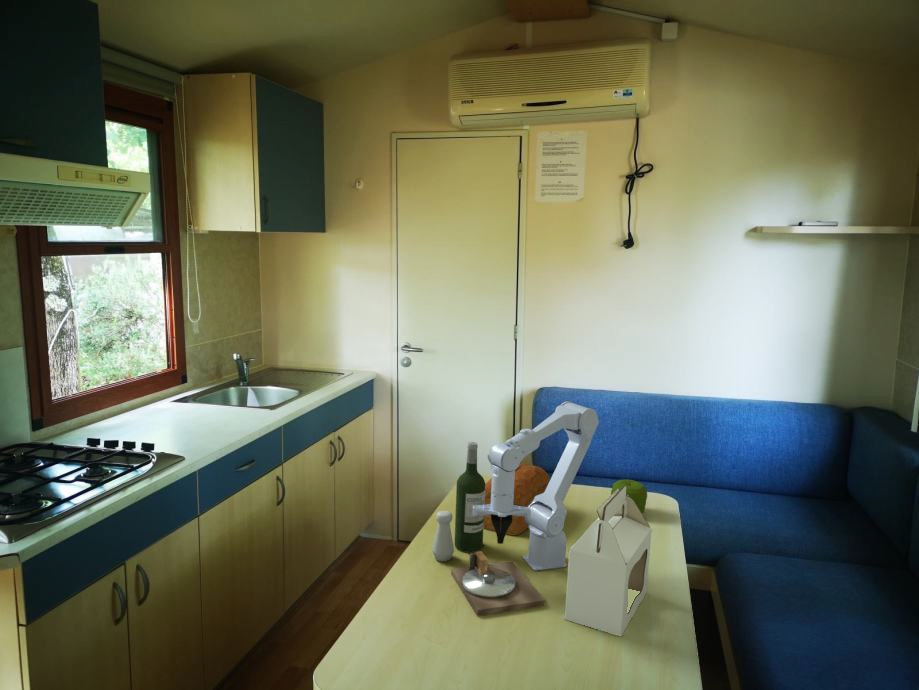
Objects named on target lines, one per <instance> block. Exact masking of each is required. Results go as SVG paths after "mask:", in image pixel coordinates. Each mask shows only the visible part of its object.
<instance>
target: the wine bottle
mask: <svg viewBox="0 0 919 690" xmlns="http://www.w3.org/2000/svg"><path fill="white" fill-rule="evenodd" d="M478 447H479V446H478V443H477V442H475V441H469V442H468V443H467V455H466V468H465V471H464V472H463V473H462V474H460V475H459V476H458V478H457V480H456V494H455V519H454V548H456V549H457V550H458V551H460V552H463V553H475V552H479V551H480V550H481V549H482V548H483V546H484V545H483V544H484V528H483V527H484V515H477V516H473V506H477V505H484V504H485V484H486V481H485V479H484V477H483V476H482V475H481V473H479V472H478Z"/></svg>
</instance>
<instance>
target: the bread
mask: <svg viewBox="0 0 919 690" xmlns="http://www.w3.org/2000/svg"><path fill="white" fill-rule="evenodd" d="M550 480H551V478H550V476H549V473H547V472H546V471H545V469H543V468H542V467H539V466H537V465H528V464H527V463H523V462H520V464H519V466H518V468H517V469H515V480H514V500H513V505H516V506H522V507H528V506H529V505H530V504H531V503H532V502H533V500H534V498H535V496H537V495H540V494H542V493H544V492H545V490H546V488H547V486H548V484H549V482H550ZM491 484H492V477H491V478H490V479H489V480H488V481H486V482H485V504H484V505H487V504H491ZM546 507H547V508H549V506H546ZM483 529H485V530H490V531H492V532H496V531H495V528H494V526H493V523H492V521H491V515H484V527H483ZM527 529H529V524H528V523H527V522H526V520H525V516H512V523H511V525H510V526H509V528H508V530H507V532H506V535H508V536H518V535H519V534H522V533H523V532H524V531H526V530H527ZM500 532H501V530H500Z"/></svg>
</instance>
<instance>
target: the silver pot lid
mask: <svg viewBox="0 0 919 690" xmlns="http://www.w3.org/2000/svg"><path fill="white" fill-rule="evenodd" d="M474 553H475V554H476V555H475V567H476V568H477V569H473V570H470V571H468V572H467V573H466V574H465V575H464V576H463V579H462V585H463V587H464V589H465V590H466V591H467V592H469V593H471V594H473V595H475V596H479V597H483V598H499V597H504V596H507V595H509V594H510V593H512V592H513V591H514V589H515V579H514V577H513V576H512V575H511V574H509V573H507V572H505V571H503V570H500V569H496V568H487V564H489V563H488V561H489V560H488V558H487V556H486V555H485V554H484V553H483V551H482V550H481V551H480V550H479V551H476V552H474Z"/></svg>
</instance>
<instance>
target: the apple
mask: <svg viewBox="0 0 919 690" xmlns="http://www.w3.org/2000/svg"><path fill="white" fill-rule="evenodd" d="M623 486H626V494H628V496H629V497H631V498H632V499H633V500H634V502H635V503H636V505H637V506H638V508H639V510H640V511H641V513H642V514H643V513H645V509H646V506H647V505H646V504H647V499H648V492H647V491H648V490H647V488H646V486H644V484H642V482H639V481H636V480H632V479H619V480H617V481H615V482H613V484H612V486H611V487H612V488H611V491H610V496H611V495H612V494H613V493H614V492H615V490H616V489H617V488H618V489H619V490H620V489H621V488H622V487H623ZM626 517H627V515H626Z"/></svg>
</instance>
